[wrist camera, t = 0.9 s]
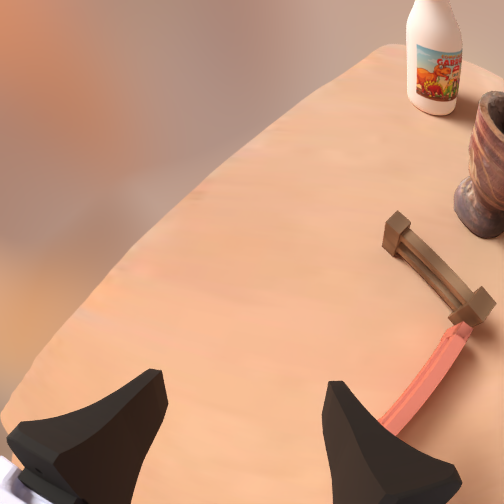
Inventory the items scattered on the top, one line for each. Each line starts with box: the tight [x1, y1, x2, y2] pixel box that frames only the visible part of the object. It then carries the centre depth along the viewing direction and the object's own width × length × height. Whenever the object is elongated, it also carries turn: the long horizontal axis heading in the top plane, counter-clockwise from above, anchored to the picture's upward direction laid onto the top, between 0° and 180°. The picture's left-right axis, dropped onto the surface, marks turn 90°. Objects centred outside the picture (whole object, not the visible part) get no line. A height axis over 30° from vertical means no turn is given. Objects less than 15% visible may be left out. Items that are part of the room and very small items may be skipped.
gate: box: [378, 321, 473, 436], centre depth 18 cm, size 11×1×4 cm, turn 136°
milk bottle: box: [406, 0, 462, 115], centre depth 22 cm, size 8×8×20 cm
